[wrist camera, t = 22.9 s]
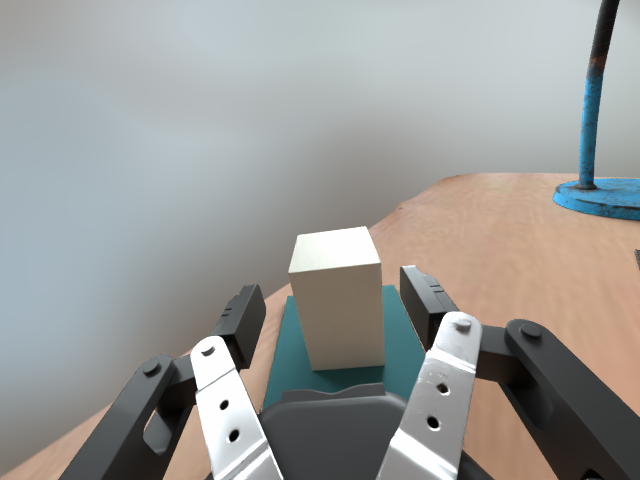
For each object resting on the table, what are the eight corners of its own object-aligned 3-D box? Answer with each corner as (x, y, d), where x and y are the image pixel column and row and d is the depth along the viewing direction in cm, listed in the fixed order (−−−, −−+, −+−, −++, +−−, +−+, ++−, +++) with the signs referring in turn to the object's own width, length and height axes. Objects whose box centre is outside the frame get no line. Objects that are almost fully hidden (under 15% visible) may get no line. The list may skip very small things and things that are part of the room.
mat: (259, 436, 15) (257, 431, 14) (288, 300, 26) (287, 295, 26) (453, 425, 14) (454, 419, 13) (394, 288, 25) (394, 284, 25)
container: (312, 371, 17) (287, 273, 14) (315, 317, 22) (297, 235, 18) (385, 365, 17) (381, 262, 13) (371, 312, 22) (365, 226, 18)
